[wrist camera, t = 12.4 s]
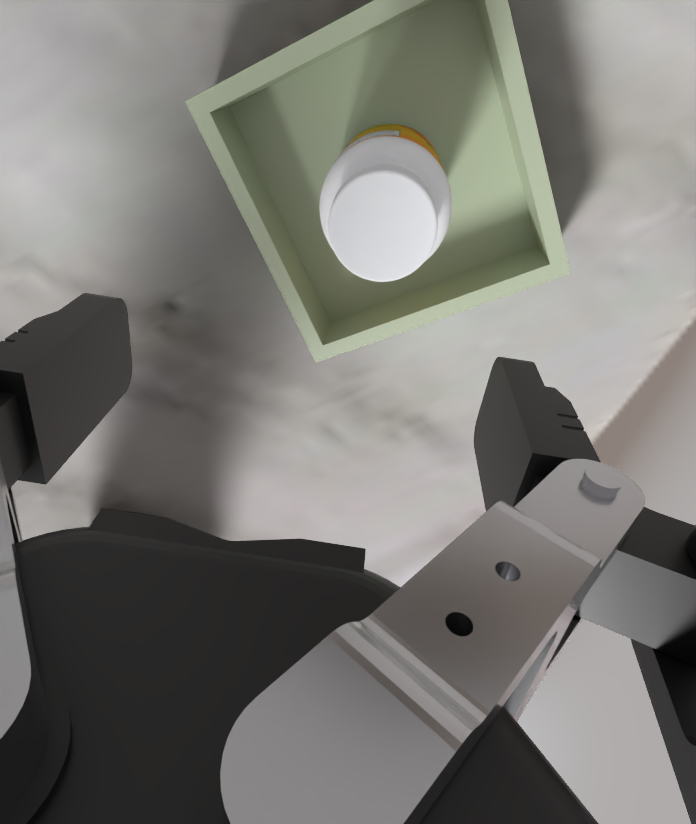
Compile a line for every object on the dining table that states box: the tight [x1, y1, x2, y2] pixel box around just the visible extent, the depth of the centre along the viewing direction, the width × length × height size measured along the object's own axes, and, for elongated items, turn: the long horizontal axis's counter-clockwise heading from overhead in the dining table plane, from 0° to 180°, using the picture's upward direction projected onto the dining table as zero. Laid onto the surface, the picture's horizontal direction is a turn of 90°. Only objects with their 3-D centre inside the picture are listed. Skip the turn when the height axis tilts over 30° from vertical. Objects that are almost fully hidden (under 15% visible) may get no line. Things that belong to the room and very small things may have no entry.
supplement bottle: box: [319, 123, 452, 282], centre depth 24 cm, size 5×5×10 cm
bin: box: [185, 0, 571, 362], centre depth 27 cm, size 14×14×4 cm
